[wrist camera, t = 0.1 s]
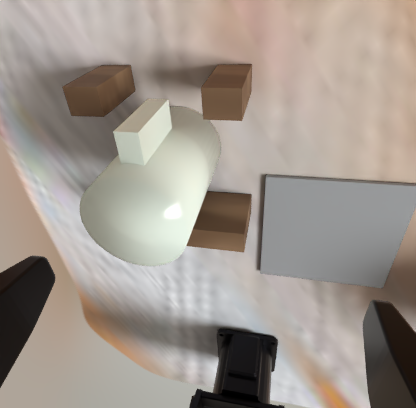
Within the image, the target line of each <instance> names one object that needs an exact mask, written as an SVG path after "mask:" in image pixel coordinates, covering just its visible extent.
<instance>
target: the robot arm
mask: <svg viewBox="0 0 416 408" xmlns="http://www.w3.org/2000/svg"><path fill="white" fill-rule="evenodd" d="M54 283H55V274H54V272H53V270H52V268H51V266H50V264H49V262H48V260H47V259H46V258H45V257H41V256H30V257H28V258H26V259H25V260H23V261H21V262H19V263H17V264H16V265H14V266H12V267H10V268H8V269H7V270H5V271H3V272H1V273H0V387H1V386H2V384H3V382H4V380H5V379H6V377H7V375H8V373H9V372H10V370H11V368H12V366H13V365H14V363H15V361H16V359H17V358H18V356H19V354H20V352H21V351H22V349H23V347H24V345H25V343H26V342H27V340H28V338H29V336H30V335H31V333H32V331H33V329H34V327H35V325H36V323H37V321H38V318H39V316H40V314H41V312H42V309H43V307H44V305H45V303H46V300H47V298H48V296H49V294H50V292H51V290H52V287H53V285H54ZM363 336H364V349H365V362H366V375H367V386H368V394H369V400H370V406H371V408H416V332H415V331H414V330H413V329H412V327H411V326H410V325H409V324H408V323H407V321H406V320H405V319H404V318H403V316H402V315H401V314H400V313H399V311H398V310H397V309H396V308H395V307H394V305H393V304H392V303H390V302H387V301H380V300H372V301H371V302H370V304H369V307H368V310H367V312H366V315H365V317H364V320H363ZM217 343H218V357H219V362H218V368H217V373H216V378H215V384H214V389H213V393H211V392H206V391H202V390H201V389H197V390H196V394H195V395H194V396H192V399H191V403H190V408H284V406H282V405H279V406H276V405H272V404H270V387H271V372H273V371H274V368H275V360H276V353H277V345H278V340H277V339H276V338H274V337H268V336H262V335H256V334H249V333H243V332H237V331H231V330H224V329H219V330H218V332H217Z"/></svg>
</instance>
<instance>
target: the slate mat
mask: <svg viewBox="0 0 416 408" xmlns="http://www.w3.org/2000/svg"><path fill="white" fill-rule="evenodd" d="M415 208H416V184H409V183H393V182H376V181H360V180H344V179H327V178H311V177H295V176H278V175H266V185H265V202H264V218H263V235H262V252H261V269H260V273H261V274H269V275H277V276H286V277H294V278H302V279H310V280H319V281H327V282H335V283H343V284H351V285H360V286H368V287H376V288H383V286H384V284H385V281H386V279H387V276H388V274H389V272H390V269H391V267H392V264H393V262H394V259H395V257H396V254H397V252H398V249H399V247H400V244H401V242H402V240H403V237H404V235H405V232H406V230H407V227H408V225H409V222H410V220H411V217H412V215H413V212H414V210H415Z"/></svg>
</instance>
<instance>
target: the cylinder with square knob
mask: <svg viewBox="0 0 416 408" xmlns="http://www.w3.org/2000/svg"><path fill="white" fill-rule="evenodd" d="M113 133H114V137H115V141H116V146H117V150H118V155H117V156H116V158H115V159H114V160H113V161H112V162H111V163H110V164H109V165H108V166H107V167H106V169H105V170H104V171H103V172H102V173H101V174H100V175H99V176H98V177H97V179H96V180H95V181H94V182H93V183H92V184H91V185H90V186H89V187H88V188H87V190H86V191H85V192H84V194H83V196H82V198H81V201H80V216H81V219H82V222H83V224H84V227H85V228H86V230H87V232H88V233H89V235H90V236H91V237H92V238H93V240H94V241H95V242H96V243H97V244H98V245H99V246H101V247H102V248H103V249H104V250H106V251H107V252H109V253H110V254H112V255H113V256H115V257H117V258H119V259H121V260H124V261H126V262H129V263H132V264H136V265H142V266H159V265H164V264H167V263H170V262H172V261H174V260H176V259H177V258H178V257H179V256H180V255H181V254H182V253H183V252H184V250H185V248H186V245H187V243H188V240H189V237H190V235H191V232H192V230H193V227H194V224H195V222H196V219H197V216H198V214H199V211H200V208H201V206H202V203H203V200H204V198H205V195H206V192H207V190H208V187H209V185H210V182H211V179H212V177H213V174H214V171H215V169H216V166H217V163H218V161H219V158H220V154H221V142H220V138H219V135H218V132H217V131H216V129H215V127H214V126H213V124H212V123H211V122H210V121H209V120H203V115H202V114H201V113H199V112H197V111H195V110H193V109H190V108H186V107H179V106H177V107H169V100H168V99H147V100H146V101H145V102H144V103H143V104H142V105H141V106H140V107H139V108H138V109H137V110H135V111H134V112H133V113H132V114H131V115H130V116H129V117H128V118H127V119H126V120H125V121H124V122H123V123H122V124H121V125H120V126H119V127H118V128H116V129H115V130H114V131H113Z"/></svg>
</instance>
